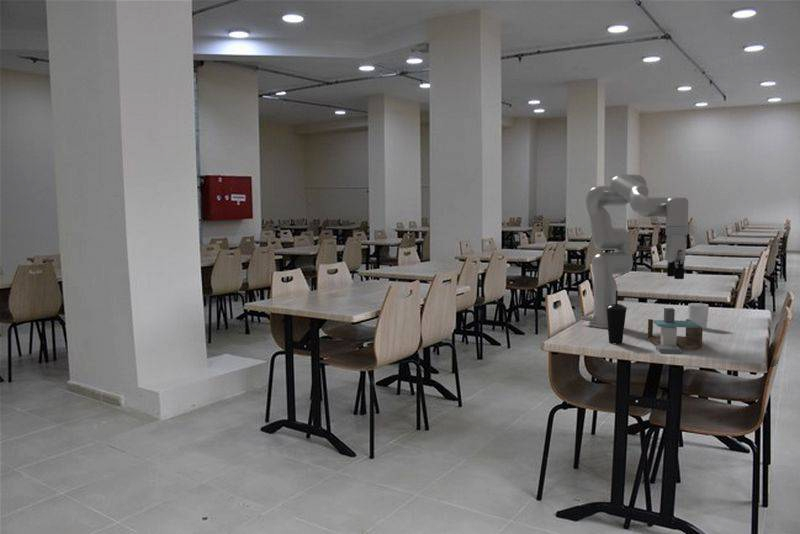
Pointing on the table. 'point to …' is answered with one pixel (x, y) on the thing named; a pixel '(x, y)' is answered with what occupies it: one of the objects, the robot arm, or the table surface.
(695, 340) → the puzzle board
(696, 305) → the white cup
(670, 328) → the block
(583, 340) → the table surface
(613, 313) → the drinking cup
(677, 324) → the cover
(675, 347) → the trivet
